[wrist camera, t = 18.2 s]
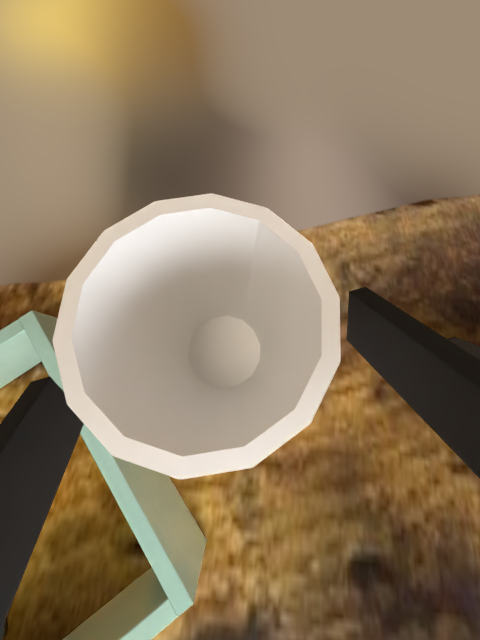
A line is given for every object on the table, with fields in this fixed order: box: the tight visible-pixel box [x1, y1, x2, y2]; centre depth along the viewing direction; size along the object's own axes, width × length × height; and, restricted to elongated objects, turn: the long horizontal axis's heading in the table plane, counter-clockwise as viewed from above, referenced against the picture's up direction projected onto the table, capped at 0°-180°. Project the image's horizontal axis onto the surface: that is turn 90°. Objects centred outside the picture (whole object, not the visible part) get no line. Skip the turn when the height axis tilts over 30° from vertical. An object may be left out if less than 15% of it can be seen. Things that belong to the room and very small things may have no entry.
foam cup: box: [52, 193, 341, 480], centre depth 14 cm, size 10×9×13 cm
